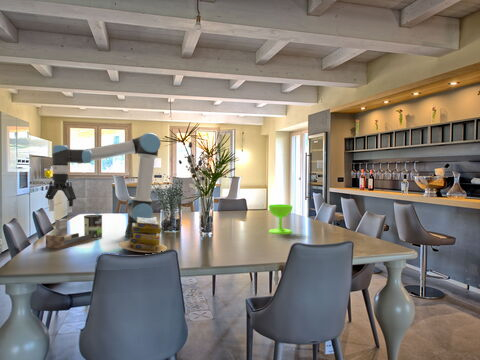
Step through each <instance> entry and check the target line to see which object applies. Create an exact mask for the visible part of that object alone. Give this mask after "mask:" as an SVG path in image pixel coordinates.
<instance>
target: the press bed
mask: <svg viewBox="0 0 480 360" xmlns="http://www.w3.org/2000/svg"><path fill="white" fill-rule="evenodd" d="M70 235H72V239H67V240H64V236H56V234H55V235H53V234H46V235H45V248H50V249H51V248H52V249H57V250H58V249H59V250H60V249H61V250H64V249H67V248H71V247H75V246H79V245H83V244H86V243H90V242H93V240H92V234H89V235H85V236H84V235H80V234H79V232H77V233H72V234H70Z"/></svg>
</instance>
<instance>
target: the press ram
mask: <svg viewBox="0 0 480 360" xmlns="http://www.w3.org/2000/svg"><path fill="white" fill-rule="evenodd" d="M54 222H55V235H56V236H64V240H67V239H72V235H71V234H68V220H67V218H58V219H55V221H54Z"/></svg>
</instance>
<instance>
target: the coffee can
mask: <svg viewBox="0 0 480 360" xmlns="http://www.w3.org/2000/svg"><path fill="white" fill-rule="evenodd" d="M83 218H84V219H83V220H84V221H83V222H84V225H83V226H84V227H83V228H84V234H83V236H85V235H89V234H92V241H93V240H95V241H96V240H101V239H103V214H86V215H84V216H83Z"/></svg>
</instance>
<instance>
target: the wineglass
mask: <svg viewBox="0 0 480 360" xmlns="http://www.w3.org/2000/svg"><path fill="white" fill-rule="evenodd" d="M268 209H269V212H270V213H271V214H272V215H273V216H274V217H276V218H278V228H272V229H269V230H268V233H269V234H273V235H290V234H293V231H292V230H291V229H287V228H283V218H285V217H287V216H288V215H290V213H291V212H292V211H293V205H292V204H280V203H279V204H276V203H275V204H269V205H268Z"/></svg>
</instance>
